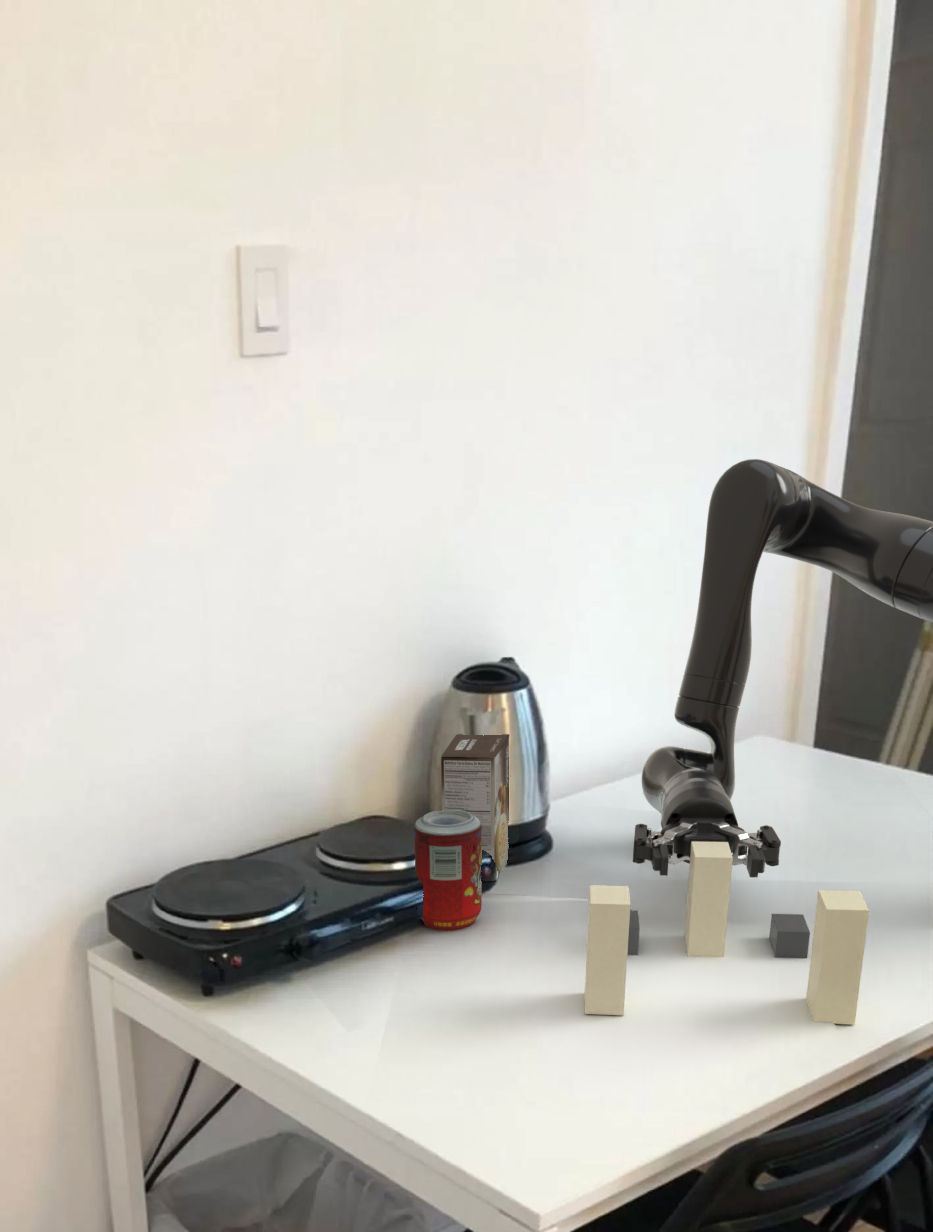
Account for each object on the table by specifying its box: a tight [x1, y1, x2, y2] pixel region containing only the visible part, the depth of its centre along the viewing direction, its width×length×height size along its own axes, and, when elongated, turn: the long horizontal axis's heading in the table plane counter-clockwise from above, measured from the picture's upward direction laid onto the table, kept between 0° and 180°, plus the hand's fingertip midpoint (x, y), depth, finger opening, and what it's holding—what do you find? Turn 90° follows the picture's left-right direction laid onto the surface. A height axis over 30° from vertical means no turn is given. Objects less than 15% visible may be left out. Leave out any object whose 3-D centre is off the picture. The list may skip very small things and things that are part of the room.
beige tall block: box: [805, 889, 870, 1026], centre depth 134 cm, size 4×5×11 cm
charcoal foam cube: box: [768, 913, 811, 959], centre depth 148 cm, size 3×5×4 cm, turn 167°
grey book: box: [627, 909, 641, 956], centre depth 152 cm, size 3×5×4 cm, turn 167°
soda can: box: [413, 809, 483, 932], centre depth 160 cm, size 7×7×12 cm
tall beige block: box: [683, 841, 733, 958], centre depth 149 cm, size 4×5×11 cm
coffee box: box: [440, 733, 511, 882], centre depth 173 cm, size 9×6×16 cm
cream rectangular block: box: [584, 884, 631, 1016], centre depth 139 cm, size 4×5×11 cm
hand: (709, 867), depth 148 cm, fingers open, 8 cm apart
